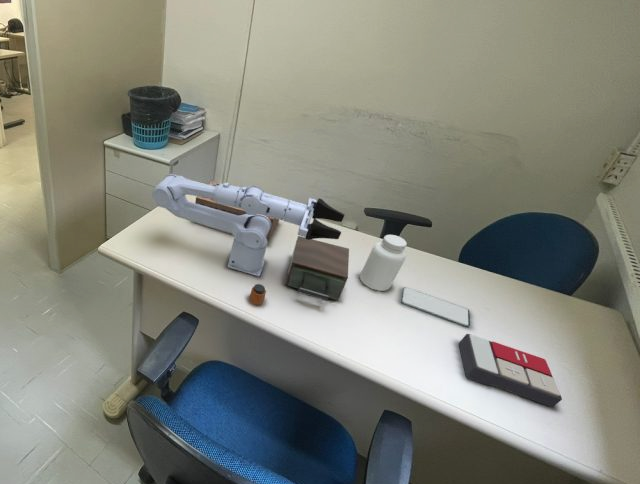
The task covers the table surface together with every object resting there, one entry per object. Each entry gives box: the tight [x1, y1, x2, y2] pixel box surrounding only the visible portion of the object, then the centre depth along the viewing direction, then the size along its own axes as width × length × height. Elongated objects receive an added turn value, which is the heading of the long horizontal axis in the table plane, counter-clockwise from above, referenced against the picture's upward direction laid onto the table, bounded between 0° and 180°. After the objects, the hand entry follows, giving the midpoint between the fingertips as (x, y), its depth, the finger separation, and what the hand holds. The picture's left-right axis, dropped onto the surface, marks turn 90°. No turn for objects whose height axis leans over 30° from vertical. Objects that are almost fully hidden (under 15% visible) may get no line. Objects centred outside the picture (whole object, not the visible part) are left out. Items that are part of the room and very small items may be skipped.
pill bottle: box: [359, 234, 408, 292], centre depth 109 cm, size 8×8×15 cm
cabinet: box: [284, 235, 350, 301], centre depth 112 cm, size 14×14×8 cm
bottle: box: [248, 283, 267, 306], centre depth 105 cm, size 4×4×5 cm
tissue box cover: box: [193, 180, 280, 246], centre depth 135 cm, size 26×14×10 cm, turn 59°
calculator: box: [458, 333, 563, 408], centre depth 87 cm, size 11×4×15 cm
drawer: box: [287, 266, 344, 301], centre depth 109 cm, size 17×13×6 cm
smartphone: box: [401, 287, 471, 327], centre depth 105 cm, size 7×1×15 cm
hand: (341, 226), depth 100 cm, fingers open, 7 cm apart
